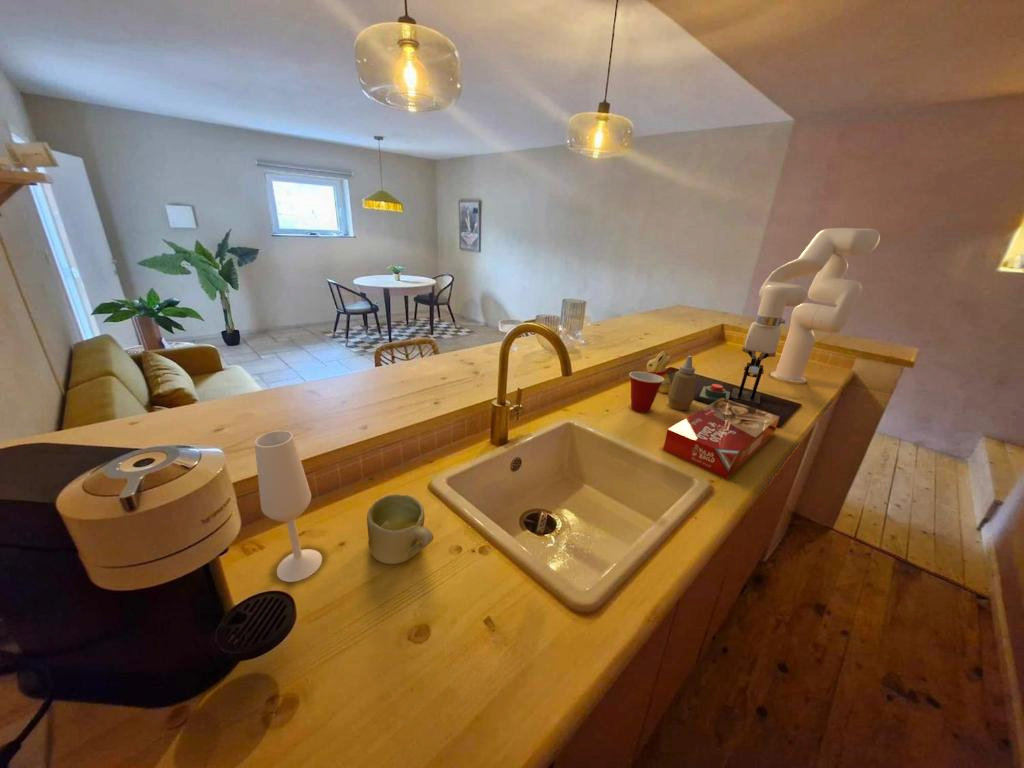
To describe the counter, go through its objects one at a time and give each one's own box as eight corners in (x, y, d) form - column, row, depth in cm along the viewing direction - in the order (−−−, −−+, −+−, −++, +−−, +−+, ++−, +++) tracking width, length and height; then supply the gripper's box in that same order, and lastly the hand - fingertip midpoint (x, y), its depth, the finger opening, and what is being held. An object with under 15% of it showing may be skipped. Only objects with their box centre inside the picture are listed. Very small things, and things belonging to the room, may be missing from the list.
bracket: (732, 390, 148) (741, 358, 143) (759, 396, 144) (770, 364, 139) (730, 400, 139) (739, 366, 135) (758, 407, 135) (770, 372, 130)
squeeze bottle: (693, 413, 127) (706, 361, 120) (667, 410, 129) (679, 358, 122) (688, 403, 135) (700, 354, 128) (663, 400, 136) (674, 351, 129)
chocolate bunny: (647, 382, 151) (654, 345, 146) (672, 392, 143) (681, 353, 138) (636, 386, 147) (643, 348, 142) (662, 396, 139) (671, 356, 134)
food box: (716, 415, 127) (721, 397, 125) (773, 435, 116) (779, 416, 113) (663, 449, 105) (667, 429, 103) (726, 478, 94) (733, 456, 91)
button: (711, 387, 140) (712, 383, 139) (722, 390, 138) (723, 385, 138) (710, 390, 137) (711, 386, 137) (721, 393, 136) (722, 388, 135)
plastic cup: (659, 406, 131) (666, 373, 126) (655, 419, 122) (663, 384, 117) (626, 399, 135) (632, 367, 130) (620, 411, 126) (626, 377, 121)
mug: (345, 540, 67) (363, 493, 65) (395, 525, 75) (412, 483, 73) (381, 594, 60) (402, 545, 58) (431, 572, 69) (452, 528, 66)
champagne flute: (315, 543, 69) (293, 422, 60) (327, 567, 64) (306, 441, 55) (272, 562, 65) (241, 435, 56) (282, 589, 60) (251, 456, 51)
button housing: (702, 391, 146) (704, 381, 145) (729, 397, 142) (731, 387, 140) (697, 401, 137) (700, 391, 135) (726, 408, 132) (729, 398, 131)
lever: (742, 376, 148) (744, 370, 148) (757, 379, 146) (759, 373, 146) (745, 371, 137) (746, 364, 137) (761, 374, 135) (763, 367, 135)
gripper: (792, 322, 138) (776, 370, 145) (744, 316, 145) (732, 362, 152) (793, 326, 132) (777, 376, 139) (743, 319, 139) (730, 367, 146)
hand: (753, 368), depth 146 cm, fingers closed
